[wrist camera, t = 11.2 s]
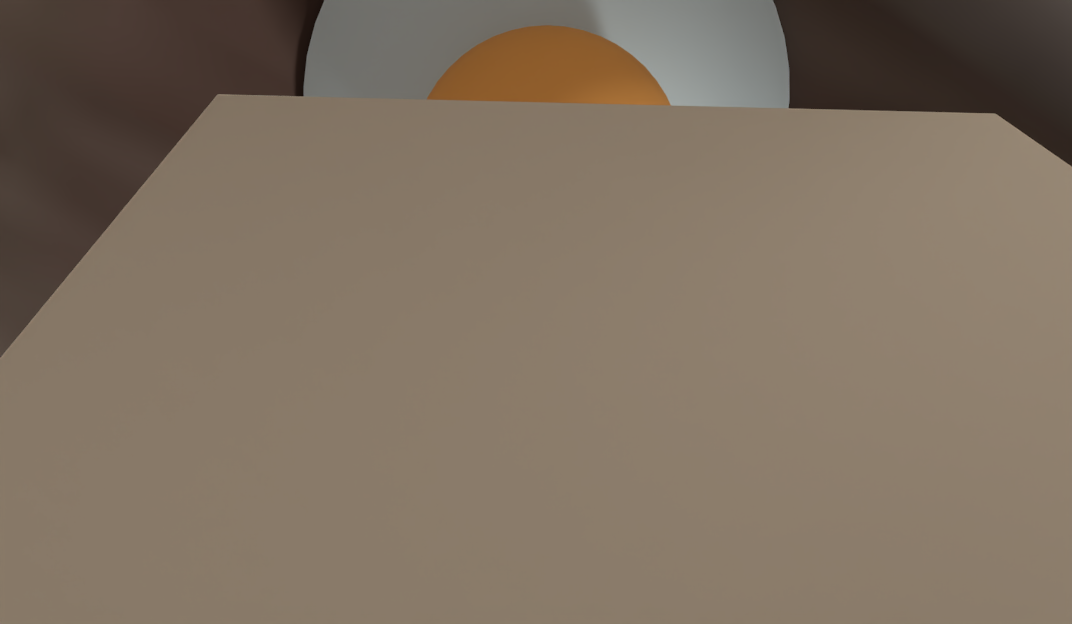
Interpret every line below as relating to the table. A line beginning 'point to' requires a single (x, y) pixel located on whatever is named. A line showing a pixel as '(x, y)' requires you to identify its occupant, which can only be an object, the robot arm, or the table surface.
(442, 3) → the disc
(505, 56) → the ball
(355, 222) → the block
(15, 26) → the table surface
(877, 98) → the table surface
